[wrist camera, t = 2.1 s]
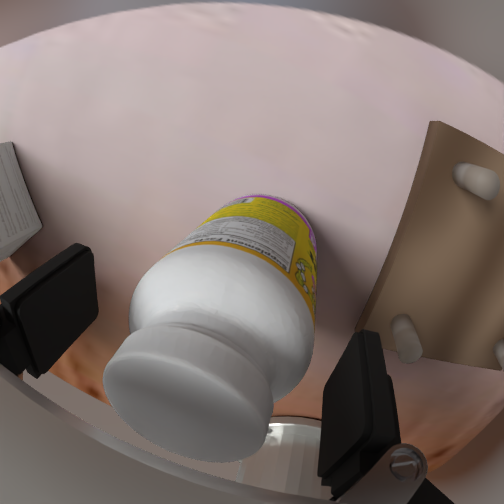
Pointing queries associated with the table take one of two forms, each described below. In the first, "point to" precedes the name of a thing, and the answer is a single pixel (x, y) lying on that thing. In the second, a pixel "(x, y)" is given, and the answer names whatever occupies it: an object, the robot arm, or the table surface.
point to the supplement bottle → (219, 332)
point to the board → (446, 258)
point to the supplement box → (14, 205)
